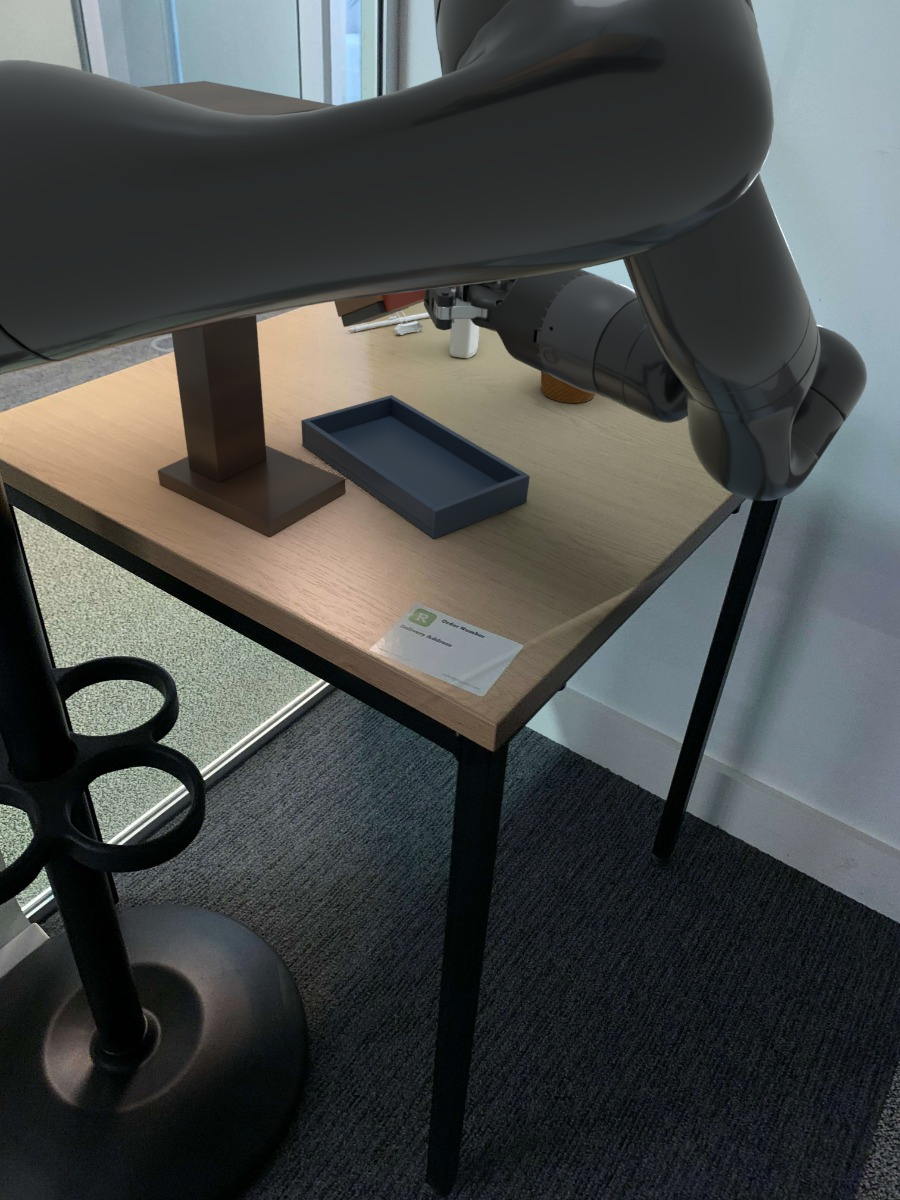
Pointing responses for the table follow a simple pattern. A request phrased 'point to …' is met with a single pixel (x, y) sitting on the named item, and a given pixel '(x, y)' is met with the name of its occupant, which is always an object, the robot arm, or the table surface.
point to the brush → (376, 306)
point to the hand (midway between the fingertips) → (429, 266)
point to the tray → (415, 464)
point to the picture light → (401, 327)
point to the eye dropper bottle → (464, 338)
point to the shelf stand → (236, 387)
